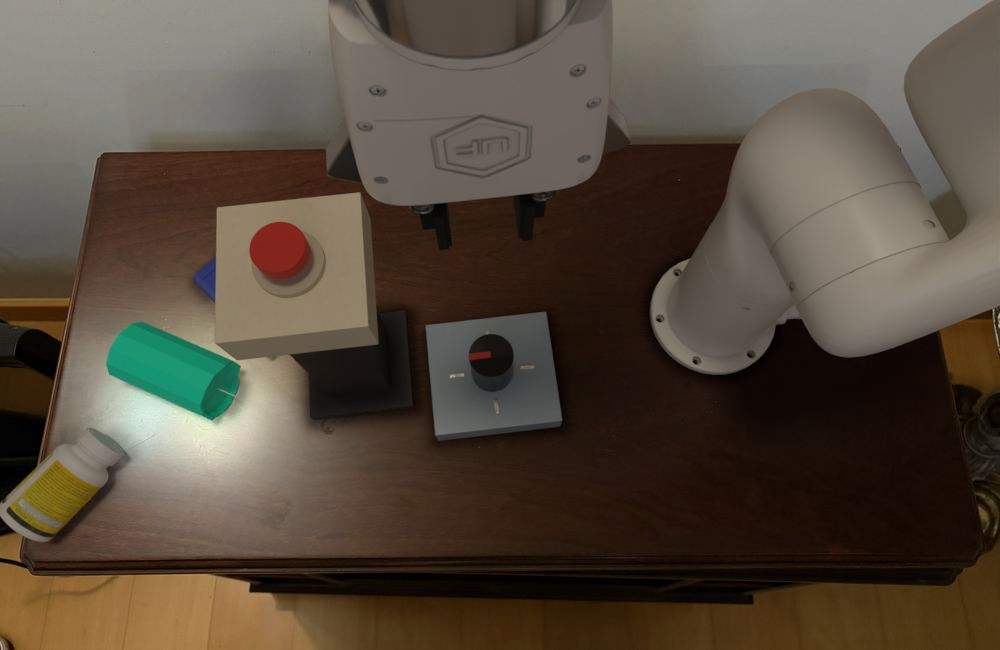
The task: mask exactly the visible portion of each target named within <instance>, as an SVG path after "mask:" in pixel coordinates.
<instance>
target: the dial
mask: <svg viewBox="0 0 1000 650" xmlns="http://www.w3.org/2000/svg"><path fill="white" fill-rule="evenodd" d="M469 362H470V368H471V374H472V378H473V380H474V382H475V384H476V385H477V386H478V387H479V388H481V389H483V390H485V391H489V392H495V391H499V390H502V389H503V388H505V387H506V386H507V385H508V384H509V383H510V381H511V379H512V376H513V363H514V352H513V348H512V346H511V344H510V343H509V342H508V340H506V339H505V338H504V337H502V336H500V335H497V334H486V335H483V336H481V337H479V338H478V339H476V340H475V341H474V342H473V344H472V345H471V347H470V350H469Z"/></svg>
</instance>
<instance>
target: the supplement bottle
mask: <svg viewBox="0 0 1000 650" xmlns="http://www.w3.org/2000/svg"><path fill="white" fill-rule="evenodd" d="M123 456H124V451H123V449H122V448H121V447H120V446H119V445H118V444H117V443H116V442H115V441H114V440H112V439H111V438H110V437H109V436H108V435H106V434H105V433H103V432H101V431H100V430H98V429H96V428H93V427H88V428H86V429H85V430H84V431H83V432H82V433H81V434H80V435H79V436H78V437H77V438H76V442H75V443H74V444H73V443H63V444H60V445H58V446H56V448H55V449H53V451H51V452H50V453H49V454H48V455H47V456H46V458H45V459H43V461H41V462H40V463H39V464H38V465H37V466H36V467H35V468H34V469H33V470H32V471H31V472H30V473H29V474H28V475H27V476H26V477H25V478H24V479H23V480H21V482H20V483H19V484H18V485H17V486H16V487H15V488H14V489H12V490H11V491H10V492H9V493H8V495H6V496H5V498H4V499H2V500H1V502H0V518H1V519H2V521H3V522H4V523H5V524H6V525H7V526H8V527H9V528H10V529H12V530H13V531H14V532H16V533H17V534H19V535H20V536H23V537H24V538H27V539H29V540H31V541H34V542H39V543H47V542H49V541H51V540H52V539H53V538H54V537H55V536H56V535H57V534H58V533H59V532H61V530H62V529H63V528H64V527H65V526H66V525H67V524H68V523H69V522H70V521H71V520H72V519H73V518H74V517H75V516H76V515H77V514H78V512H80V511H81V509H82V508H84V506H86V504H87V503H89V501H90V500H91V499H92V498H93V497H94V496H96V494H97V493H98V492H99V491H100V490H101V489H102V488H103V487H104V486H105V485H106V484H107V482H108V480H109V471H108V470H107V468H109V467H113V466H114V465H115V464H116V463H117V462H118V461H119V460H120V459H121V458H122V457H123Z"/></svg>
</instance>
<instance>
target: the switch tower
mask: <svg viewBox="0 0 1000 650" xmlns="http://www.w3.org/2000/svg"><path fill="white" fill-rule="evenodd" d="M371 221H372V220H371V216H370V214H369V211H368V209H367V206H366V202H365V201H364V198H363V196H362V193H361V192H360V191H359V192H348V193H339V194H331V195H330V194H329V195H322V196H321V195H320V196H310V197H303V198H294V199H285V200H284V199H283V200H275V201H265V202H256V203H245V204H237V205H227V206H218V207H216V229H215V231H216V233H215V234H216V236H215V237H216V238H215V239H216V240H215V257H216V296H215V302H214V306H215V307H214V309H215V310H214V344H215V345H216V346H217V347H219V348H220V349H222V351H224V352H225V353H226V354H227V355H229V356H230V357H231V358H233V359H234V360H235V361H244V360H253V359H260V358H261V359H263V358H271V357H279V356H287V355H289V356H290V357H291V358H292V359H293V360H294V361H295V362H296V363H297V364H298V365H299V366H300V367H301V368H302V369H303V370H304V371H305V372H306V373H307V374H308V392H309V393H308V395H309V418H310V419H311V420H312V421H317V420H327V419H334V418H343V417H351V416H361V415H370V414H377V413H385V412H386V413H387V412H395V411H404V410H411V409H415V397H414V385H413V371H412V360H411V359H412V358H411V347H410V346H411V345H410V333H409V322H408V320H409V319H408V313H407V310H406V309H403V310H394V311H386V312H378V310H377V297H376V283H375V282H376V280H375V267H374V252H373V236H372V235H373V234H372V222H371ZM273 222H287V223H290V224H293V225H295V226H296V227H298V228H299V229H300V230H301V231H302V233H303V235H304V236H305V238H306V240H307V241H308V243H309V246H310V257H309V260H308V263H307V265H306V266H305V267H304V269H303V270H302V271H301V272H300V273H298V274H297V275H295V276H293V277H291V278H287V279H272V278H269V277H267V276H265V275H264V274H262V273H261V272H260V271H259V269H258V268H257V267H256V266H255V264H254V263H253V262H252V260H251V257H250V253H249V247H250V243H251V240H252V238H253V236H254V235H255V233H256V232H257V231H258V230H259V229H261V228H262V227H264V226H265V225H267V224H270V223H273Z"/></svg>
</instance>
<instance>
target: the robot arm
mask: <svg viewBox="0 0 1000 650" xmlns="http://www.w3.org/2000/svg"><path fill="white" fill-rule="evenodd" d="M327 7H328V10H327V11H328V33H329V43H330V52H331V60H332V65H333V71H334V76H335V82H336V86H337V91H338V96H339V100H340V104H341V109H342V114H343V118H342V121H341V122H340V124H339V125H338V127H337V129H336V130H335V132H334V134H333V135H332V137H331V139H330V140H329V142H328V143H327V145H326V147H325V174H326V176H327V177H329V178H331V179H333V180H339V181H346V182H349V183H354V184H355V183H356V184H360V185H363V187H364V189H365V190H366V193H367V194H368V195H369V196H370V197H372V198H373V199H374V200H376V201H377V202H379V203H382V204H387V205H391V206H400V207H402V206H403V207H406V206H407V207H408V206H409V210H410V211H411V212H412V213H413V214H417V215H419V219H420V224H421V227H422V230H423V231H426V230H434V231H435V236H436V239H437V245H438V250H439V251H444V250H449V249H450V248H451V247H453V241H452V231H451V230H452V229H451V220H450V211H449V203H455V202H465V201H476V200H485V199H494V198H495V199H496V198H503V197H511V196H512V200H513V201H512V202H513V207H514V208H513V209H514V216H515V222H516V228H517V229H516V230H517V237H518V240H522V242H526V241H527V242H528V241H533V237H534V227H535V219H537V218H538V219H539V218H544V217H545V214H546V205H547V201H549V200H551V199H553V198H554V197H555V196H556V193H557V192H556V191H559V190H564V189H569V188H572V187H576V186H578V185H580V184H582V183H584V182H586V181H587V180H589V179H590V178H591V177H592V176H593V175H594V174H595V173H596V172H597V170H598V168H599V166H600V163H601V162H602V158H604V157H605V156H608V155H610V154H613V153H615V152H617V151H620V150H623V149H625V148H626V147H628V146H629V145H630V144H631V135H630V130H629V127H628V122H627V121H628V120H627V117H626V116H625V115H624V113H623V112H622V111H621V109H620V108H619V107H618V106H617V105H616V103H615V102H614V101H613V100H612V99H611V97H610V96H611V83H612V69H613V52H614V49H613V48H614V7H613V0H328V6H327ZM903 77H904V78H903V93H904V97H905V102H906V104H907V107H908V109H909V112H910V114H911V116H912V119H913V120H914V123H915V125H916V127H917V128H918V131H919V133H920V134H921V136H922V139H923V140H924V142H925V144H926V145H927V147H928V149H929V151H930V153H931V155H932V156H933V158H934V160H935V161H936V163H937V165H938V167H939V168H940V170H941V172H942V174H943V175H944V178H945V179H946V181H947V182H948V184H949V186H950V187H951V190H952V191H953V193H954V194H955V196H956V197H957V199H958V202H959V203H960V205H961V207H962V208H963V210H964V212H965V215H966V223H965V226H964V227H963V229H962V230H961V231H960V232H959V233H958V234H957V235H955V236H954V237H952V239H949V237H948V235H947V233H946V231H945V230H944V228H943V225H942V224H941V222H940V220H939V219H938V217H937V215H936V213H935V211H934V210H933V208H932V206H931V203H930V202H929V201H928V199H927V198H926V196H925V194H924V192H923V190H922V186H921V184H920V181H918V179H917V177H916V175H915V174H914V171H913V170H912V168H911V166H910V164H909V163H908V160H907V159H906V157H905V155H904V153H903V152H902V150H901V148H900V146H899V145H898V143H897V141H896V139H895V138H894V137H893V135H892V134H891V131H890V130H889V128H888V127H887V125H886V124H885V123H884V121H883V120H882V119H881V117H880V116H879V115H878V113H877V112H876V111H875V110H874V109H873V108H872V107H871V106H870V105H869V104H868V103H867V102H865V101H864V100H863V99H861V98H860V97H859V96H858V95H855V94H853V93H851V92H848V91H846V90H843V89H838V88H834V87H833V88H831V87H822V88H821V87H819V88H818V87H817V88H813V89H807V90H804V91H801V92H797V93H795V94H793V95H790V96H788V97H786V98H785V99H783V100H781V101H780V102H778V103H776V104H774V106H772V107H771V108H769V109H768V110H767V111H766V112H765V113H764V114H763V115H762V116H760V117H759V118H758V119H757V120H756V122H755V123H754V124H753V125H752V126H751V128H750V129H749V131H747V133H746V135H745V136H744V137H743V140H742V142H741V143H740V145H739V147H738V149H737V151H736V154H735V157H734V160H733V163H732V166H731V170H730V172H729V177H728V178H729V179H728V183H727V187H726V193H725V196H724V200H723V202H722V204H721V206H720V208H719V210H718V212H717V213H716V215H715V217H714V219H713V221H712V222H711V223H710V225H709V226H708V228H707V230H706V231H705V233H704V235H703V237H702V238H701V240H700V242H699V243H698V245H697V247H696V248H695V250H694V251H693V253H692V255H691V256H690V258H688V259H684V260H683V261H680V262H678V263H676V264H675V265H673V266H672V267H670V268H669V269H668V270H667V271H666V272H665V273H664V274H663V275H662V276H661V278H660V279H659V281H658V282H657V283H656V285H655V288H654V290H653V292H652V295H651V299H650V303H649V319H650V320H649V321H650V326H651V328H652V331H653V334H654V337H655V338H656V340H657V342H658V344H659V345H660V347H661V348H662V349H663V350H664V351H665V353H667V355H668V356H669V357H670V358H672V359H673V360H674V361H676V363H678V364H680V365H681V366H683V367H685V368H687V369H689V370H691V371H695V372H696V373H699V374H705V375H712V376H719V375H729V374H734V373H738V372H740V371H742V370H745V369H746V368H748V367H750V366H752V364H754V363H755V362H757V361H758V360H759V359H760V358H761V357H762V356H763V355H764V354H765V353H766V351H767V350H768V348H770V345H771V343H772V340H773V338H774V336H775V332H776V326H777V325H783V324H785V323H786V322H787V320H793V319H795V320H802V323H803V324H804V326H805V328H806V330H807V331H808V333H809V335H810V337H811V338H812V339H813V341H814V342H815V343H816V345H817V346H819V348H821V349H822V350H824V351H825V352H827V353H829V354H830V355H833V356H836V357H840V358H859V357H865V356H870V355H874V354H878V353H881V352H884V351H885V352H886V351H887V350H891V349H895V348H896V347H899V346H902V345H904V344H907V343H909V342H910V343H911V342H913V341H916V340H917V339H920V338H923V337H926V336H928V335H930V334H934V333H936V332H938V331H940V330H943V329H945V328H948V327H950V326H952V325H955V324H958V323H960V322H963V321H965V320H967V319H970V318H973V317H974V316H977V315H980V314H982V313H985V312H988V311H989V310H993V309H995V308H997V307H999V306H1000V0H991V1H990V2H988V3H986V4H985V5H983V6H981V7H980V8H978V9H977V10H975V11H973V12H971V13H970V14H968V15H967V16H966V17H964V18H963V19H961V20H959V21H958V22H957V23H955V24H953V25H952V26H951V27H949V28H948V29H946V30H944V31H943V32H942V33H940V34H939V35H938V36H937V37H935V38H934V39H933V40H931V41H930V42H928V43H927V45H925V46H924V47H923V48H921V50H920V51H919V52H918V53H917V54H916V55H915V57H914V58H913V59H912V61H911V62H910V63H909V64H908V67H907V69H906V72H905V74H904V76H903ZM658 320H659V321H660V322H659V321H658ZM748 355H749V356H750V357H749V356H748ZM694 362H696V364H695V363H694Z"/></svg>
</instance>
